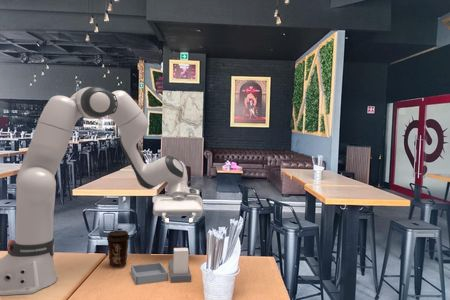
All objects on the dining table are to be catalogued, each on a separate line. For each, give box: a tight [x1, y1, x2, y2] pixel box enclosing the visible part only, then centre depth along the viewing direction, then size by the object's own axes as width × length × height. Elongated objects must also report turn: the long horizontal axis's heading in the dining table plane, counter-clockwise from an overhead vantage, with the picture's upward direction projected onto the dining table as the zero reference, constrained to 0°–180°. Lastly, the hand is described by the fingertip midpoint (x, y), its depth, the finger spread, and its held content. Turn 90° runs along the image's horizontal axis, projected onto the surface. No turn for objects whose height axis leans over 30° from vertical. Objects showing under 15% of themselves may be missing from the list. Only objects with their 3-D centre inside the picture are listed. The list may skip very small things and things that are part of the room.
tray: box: [130, 261, 169, 286], centre depth 126 cm, size 11×11×3 cm
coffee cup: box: [106, 229, 130, 270], centre depth 136 cm, size 9×8×13 cm
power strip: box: [168, 259, 192, 284], centre depth 130 cm, size 16×7×3 cm, turn 12°
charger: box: [172, 247, 189, 274], centre depth 126 cm, size 5×4×10 cm
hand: (179, 223), depth 137 cm, fingers open, 8 cm apart
